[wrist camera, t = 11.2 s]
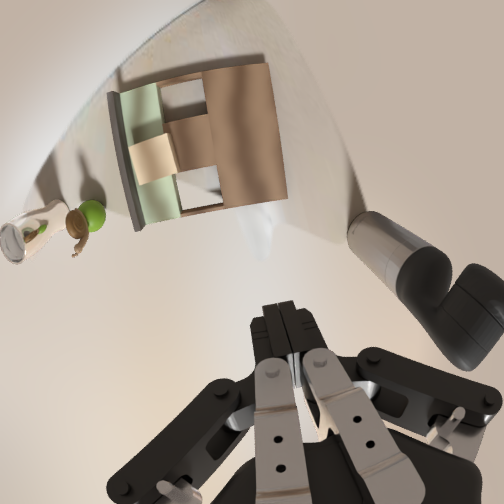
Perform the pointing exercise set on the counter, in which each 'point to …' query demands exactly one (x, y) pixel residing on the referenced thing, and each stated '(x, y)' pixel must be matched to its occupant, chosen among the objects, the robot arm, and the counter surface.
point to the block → (154, 158)
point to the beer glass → (31, 231)
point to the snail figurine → (84, 222)
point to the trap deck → (204, 142)
